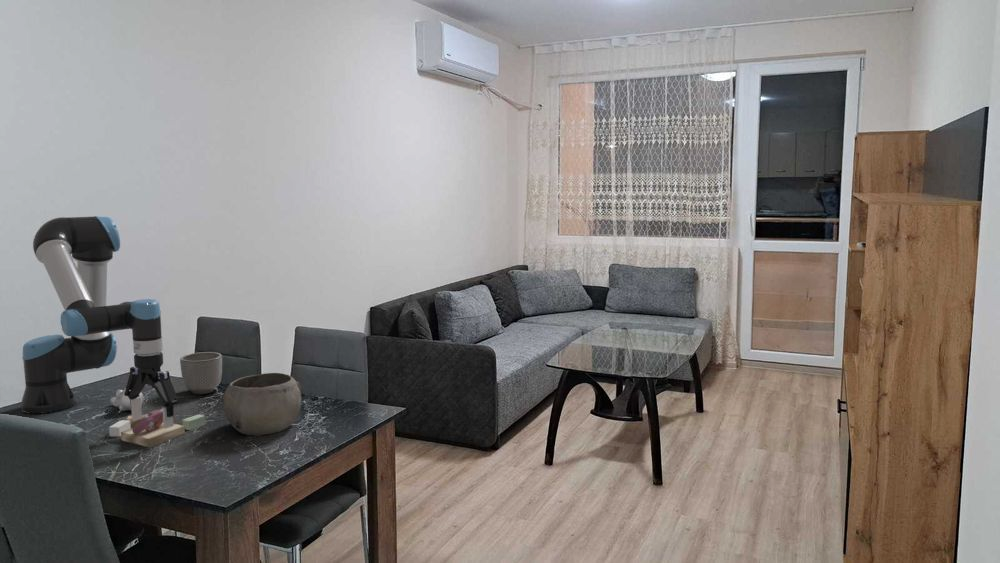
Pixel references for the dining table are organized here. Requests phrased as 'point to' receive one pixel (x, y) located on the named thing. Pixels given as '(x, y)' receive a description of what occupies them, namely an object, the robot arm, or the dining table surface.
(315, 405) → the dining table surface
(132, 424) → the brick beech
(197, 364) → the planter
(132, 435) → the maple slab
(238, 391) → the bowl
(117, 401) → the figurine
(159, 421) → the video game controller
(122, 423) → the brick white
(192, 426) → the brick sage
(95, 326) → the robot arm
